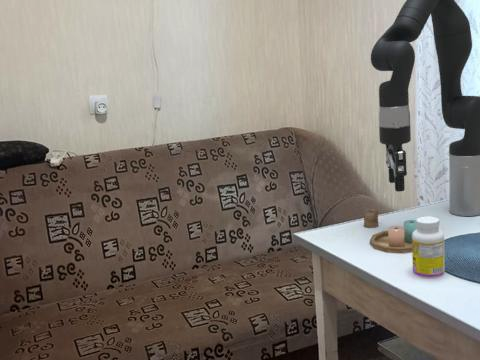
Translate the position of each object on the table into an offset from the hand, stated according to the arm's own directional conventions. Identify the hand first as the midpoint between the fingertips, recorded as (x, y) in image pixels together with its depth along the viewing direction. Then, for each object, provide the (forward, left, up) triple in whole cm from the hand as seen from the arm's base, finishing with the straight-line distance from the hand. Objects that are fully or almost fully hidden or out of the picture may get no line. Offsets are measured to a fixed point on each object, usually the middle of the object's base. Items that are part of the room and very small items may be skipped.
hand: (396, 186), depth 149 cm
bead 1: (-7, -8, -14) cm, 18 cm away
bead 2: (+9, +1, -13) cm, 16 cm away
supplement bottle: (+23, +10, -14) cm, 29 cm away
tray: (+6, +1, -14) cm, 15 cm away
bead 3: (+4, +4, -13) cm, 14 cm away
